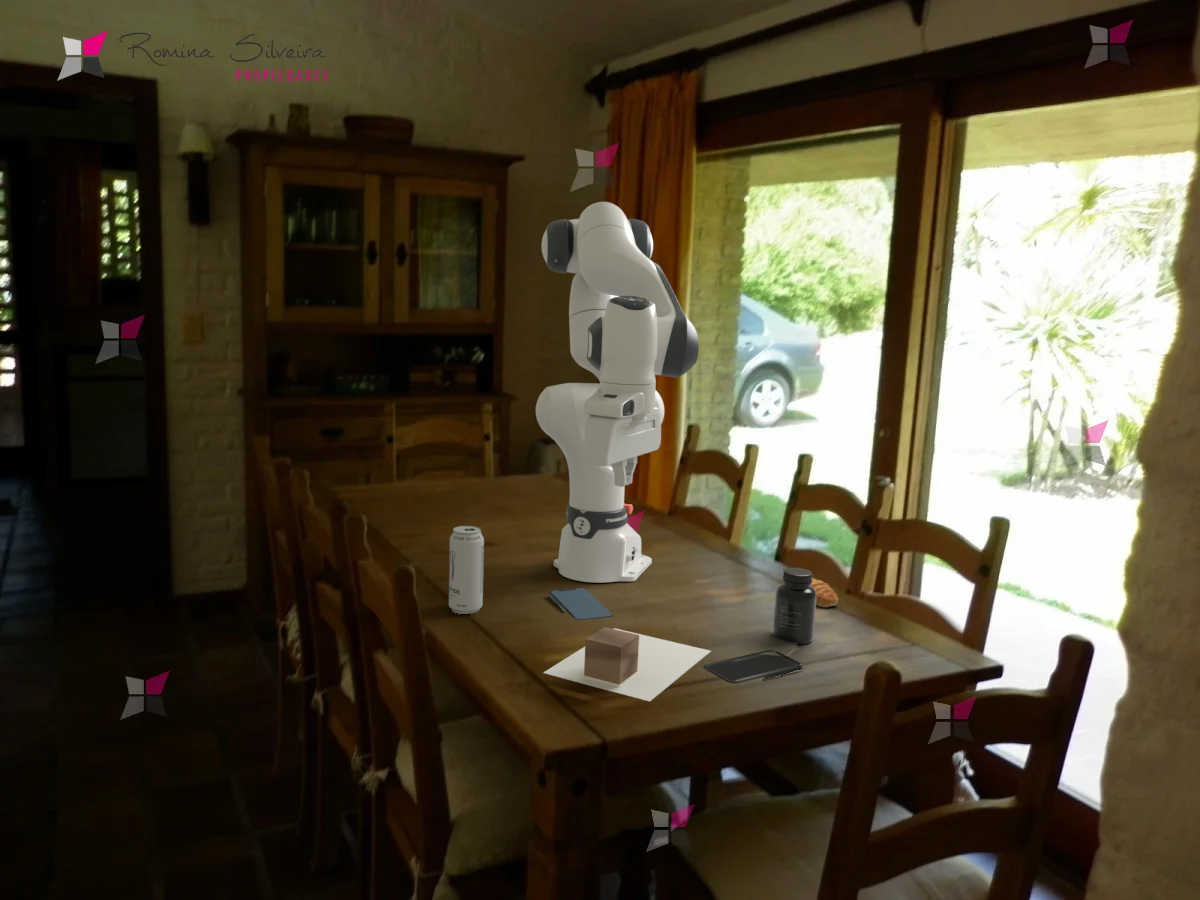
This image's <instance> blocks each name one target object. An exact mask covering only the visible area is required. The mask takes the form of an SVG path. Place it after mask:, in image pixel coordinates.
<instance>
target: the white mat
mask: <svg viewBox="0 0 1200 900" xmlns="http://www.w3.org/2000/svg"><path fill="white" fill-rule="evenodd" d="M612 629H615V630H619V631H624V632H628V633H632V634H637V635H639V649H638V668H637V674H636V675H634V676H633V677H632V678H630V679H629V680H628V681H626V682H625V683H624V684H623V685H621V686H620V687H617V686H614V685H610V684H606V683H602V682H598V681H594V680H590V679H587V678H584V664H585V646H583V647H582V648H579V649H578V650H577V651H575V652H574V653H572V654H570V655H569V656H568V657H565V658H564V659H563V660H561V661H560V662H557V663H556V664H555V665H553V666H552V667H550V668H549V669H547V670H545V671H544V672H542V673H543V674H546V675H549V676H553V677H555V678H560V679H563V680H568V681H570V682H571V681H572V682H575V683H580V684H582V685H586V686H591V687H593V688H597V689H602V690H605V691H609V692H612V693H616V694H619V695H623V696H627V697H630V698H631V697H632V698H634V699H639V700H642V701H646V702H651V701H653V700H654V699H655V698H657V696H659V695H660V694H661V693H662V692H664V691H665V689H667V688H669V687H670V686H671V685H672V684H673V683H674V682H676V681H677V680H678V679H679V678H680V677H682V676H683V675H684V674H685V673H687V671H689V670H690V669H691V668H693V667H694V666H695V665H696V664H698V662H700V661H701V660H703V658H705V657H706V656H707V655H708V654H710V653H711V652H712V650H710V649H705V648H701V647H700V648H699V647H696V646H691V645H689V644H684V643H680V642H674V641H671V640H667V639H662V638H657V637H653V636H649V635H645V634H641V633H636V632H633V631H627V630H623V629H619V628H615V627H614V628H612Z"/></svg>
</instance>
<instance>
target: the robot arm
mask: <svg viewBox="0 0 1200 900" xmlns="http://www.w3.org/2000/svg"><path fill="white" fill-rule="evenodd" d="M653 251H654V240H653V236H652V233H651V230H650V226H649V225H648V224H647V223H646V222H645V221H643V220H640V219H635V218H629V219H628V217H627V215H626V214H625V212H624V211H623V210H622V209H621V208H620V207H619V206H617V205H616V204H614V203H612V202H609V201H599V202H595V203H592V204H590V205H589V206H587V207H586V208H585V209H584V210H583V211H582V212H581V214H580V216H579V217H578V218H574V219H567V218H563V219H561V218H560V219H557V220H554V221H551V222H550V223H549V224H548V225H547V226H546V228H545V231H544V233H543V236H542V239H541V253H542V257H543V259H544V261H545V264H546V266H547V268H548V269H549V270H550V271H552V272H555V273H558V274H559V273H560V274H565V275H566V273H570V274H574V276H573V278H572V281H571V286H570V292H569V293H570V294H569V304H568V305H569V306H568V308H569V309H568V317H569V318H568V319H569V321H568V322H569V343H570V344H569V348H570V350H569V351H570V354H571V357H572V359H573V360H574V361H575V363H576V364H578V366H580V367H581V368H583V369H585V370H587V371H589V372H590V373H592V374H593V375H595V377H596V379H598V381H599V383H594V382H593V383H592V382H590V383H589V382H588V383H587V382H567V383H559V384H555V385H549V386H546V387H545V388H544V389H543V391H541V393H540V394H539V396H538V399H537V401H536V405H535V416H536V417H535V418H536V421H537V423H538V426H539V427H540V428H541V430H542V431H543V432H544V433H545V434H546V435H547V436H549V437H550V438H551V439H552V440H553V441H554V442H555V443H556V444H557V445H558V447H559V448H560V449H561V451H562V453H563V454H564V457H565V459H566V463H567V468H568V478H569V502H568V504H567V505H566V506H567V507H566V513H565V514H566V520H565V521H566V522H567V524H566V525H565V526H564V527H562V529H561V536H560V543H559V551H558V558H556V559H554V560H553V564H552V565H553V567H555V568H557V569H558V573H559V574H560V575H562V577H565V578H567V579H569V580H573V581H578V582H584V583H597V584H598V583H600V584H601V583H614V582H635V581H637V580H638V578H639V577H640V576H641V575H642V574H643V573H644V572H645V571H646V570H647V569H648V568H649V567H650V566H651V564H652V563H653V561H652V557H649V556H648V555H645V554H643V553H642V537H641V536H640V534H638V533H637V531H635V529H634V528H632V527H631V526H630V525H629V524H628V522H629V520H628V515H631V514H632V513H633V511H634V506H633V504H629V503H628V504H627V503H625V489H626V488H625V486H629V485H631V484H632V483H633V477H634V476H633V475H634V472H635V469H636V465H637V464H638V457H639V456H643V455H645V454H648V453H652V452H654V451H658V450H659V448H660V446H661V442H662V441H661V440H662V424H663V422H664V419H665V404H664V401H663V398H662V397H661V395H660V393H659V392H658V391H657V390H656V389H657V387H656V384H657V379H656V376H661V377H670V378H671V377H672V378H677V379H679V378H681V377H682V376H683V375H685V374H686V373H688V372H689V371H690V370H692V369H693V367H694V366H695V365H696V363H697V361H698V357H699V350H700V349H699V345H700V344H699V337H698V332H697V330H696V328H695V326H694V324H693V323H692V322H691V321H690V320H689V318H688V317H687V316H686V314H685V313H684V310H683V309H682V307H681V305H680V302H679V301H678V299H677V296H676V294H675V292H674V290H673V288H672V286H671V284H670V282H669V280H668V277H666V274H665V273H664V271H663V269H662V268H661V266H660V265H659V264H658V263H656V262H655V261H653V260H651V258H652V255H653Z"/></svg>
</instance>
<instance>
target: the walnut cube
mask: <svg viewBox="0 0 1200 900" xmlns="http://www.w3.org/2000/svg"><path fill="white" fill-rule="evenodd" d="M624 631H625V630H624ZM624 631H619V630H615V629H613V628H610V627H605V626H604V627H602V628H601V629H599V630H597V631H595V632H594V633H593V634H591V635H590V636H588V637H586V638H585V640H584V641H585V642H584V645H585V646H584V647H585V664H584V678H587V679H590V680H594V681H598V682H602V683H606V684H610V685H614V686H617V687H620V686H621V685H623V684H624V683H625V682H626V681H628V680H629V679H630V678H632V677H633V676H634V675H636V674H637V668H638V649H639V635H637V634H638V633H637V634H632V633H628V632H629V631H628V632H624Z"/></svg>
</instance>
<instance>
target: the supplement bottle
mask: <svg viewBox="0 0 1200 900" xmlns="http://www.w3.org/2000/svg"><path fill="white" fill-rule="evenodd" d="M812 578H813V573H812V571H810V570H809V569H805V568H803V567H802V568H801V567H788V568H785V569H783V575H782V582H783V583H781V584H779V585H778V586H777V588H776V589H775V590H776V591H775V600H774V601H775V602H774V612H773V614H774V615H773V624H772V626H773V627H772V628H773V629H772V634H773V636H774V637H775V638H777V639H779V640H781V641H784V642H790V643H796V645H797V646H801V645H800V644H804V645H808V644H810V643H811V642H812V641H813V639H814V631H815V618H816V608H817V606H816V596H817V594H816V591H815V589H814V588H813V587H811V586H810V585H811V584H812ZM809 642H810V643H809ZM807 643H808V644H807ZM798 644H799V645H798Z"/></svg>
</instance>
